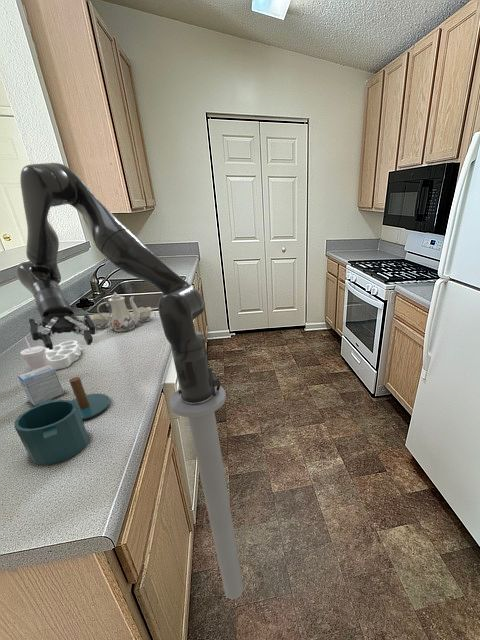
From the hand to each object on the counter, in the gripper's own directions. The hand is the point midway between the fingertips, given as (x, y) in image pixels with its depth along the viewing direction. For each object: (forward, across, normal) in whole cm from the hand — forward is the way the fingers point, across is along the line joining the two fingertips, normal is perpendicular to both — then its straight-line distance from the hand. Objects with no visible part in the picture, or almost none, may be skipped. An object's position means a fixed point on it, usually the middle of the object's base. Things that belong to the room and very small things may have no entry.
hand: (71, 344), depth 87 cm
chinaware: (-46, +32, +36) cm, 66 cm away
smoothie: (-17, -3, +29) cm, 34 cm away
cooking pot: (+23, -8, +11) cm, 26 cm away
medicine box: (-3, -5, +23) cm, 23 cm away
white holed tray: (-28, +4, +33) cm, 43 cm away
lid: (+10, +1, +15) cm, 18 cm away
